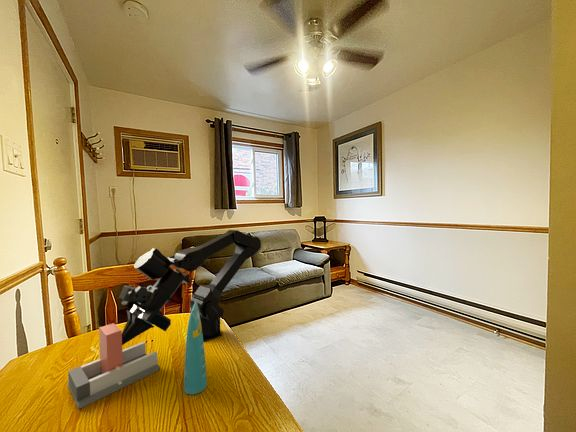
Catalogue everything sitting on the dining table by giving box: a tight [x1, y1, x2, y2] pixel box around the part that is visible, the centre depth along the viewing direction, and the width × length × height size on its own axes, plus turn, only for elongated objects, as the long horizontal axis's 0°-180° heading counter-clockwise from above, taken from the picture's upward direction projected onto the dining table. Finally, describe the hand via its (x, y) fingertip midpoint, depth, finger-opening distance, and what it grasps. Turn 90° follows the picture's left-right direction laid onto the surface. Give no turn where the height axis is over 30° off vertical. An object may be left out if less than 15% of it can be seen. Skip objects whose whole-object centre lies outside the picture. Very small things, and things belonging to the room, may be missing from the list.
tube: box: [183, 300, 208, 396], centre depth 56 cm, size 7×5×19 cm, turn 20°
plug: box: [98, 322, 123, 374], centre depth 60 cm, size 3×6×11 cm, turn 50°
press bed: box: [67, 341, 160, 410], centre depth 60 cm, size 16×11×4 cm
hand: (119, 344), depth 61 cm, fingers closed, pressing on plug
